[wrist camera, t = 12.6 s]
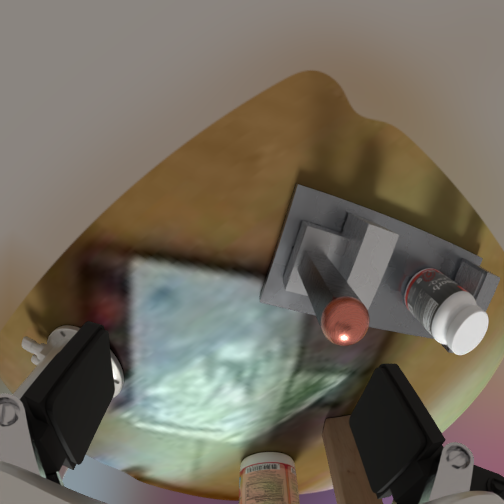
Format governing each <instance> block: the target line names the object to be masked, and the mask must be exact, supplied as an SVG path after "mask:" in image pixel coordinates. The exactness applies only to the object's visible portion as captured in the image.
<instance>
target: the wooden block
mask: <svg viewBox="0 0 504 504" xmlns="http://www.w3.org/2000/svg"><path fill="white" fill-rule="evenodd" d="M350 416H351V415H347V416H341V417H334V418H327V419H326V420H325V424H324V429H323V433H322V437H323V441H324V446H325V450H326V454H327V459H328V464H329V468H330V473H331V478H332V482H333V487H334V492H335V496H336V501H337V504H383V502H382V498H381V499H377V496H376V493H373V492H372V490H371V487H370V484H369V481H368V478H367V475H366V472H365V469H364V466H363V463H362V460H361V457H360V454H359V451H358V448H357V446H356V443H355V440H354V437H353V434H352V431H351V428H350V426H349V418H350Z"/></svg>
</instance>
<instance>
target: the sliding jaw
mask: <svg viewBox="0 0 504 504" xmlns="http://www.w3.org/2000/svg"><path fill="white" fill-rule="evenodd" d="M398 237H399V235H398V234H396V233H395V232H393V231H391V230H389V229H387V228H385V227H383V226H381V225H379V224H378V223H376V222H373V221H370V220H367V219H365V218H362V217H359V216H356V215H354V214H351V213H349V214H348V217H347V220H346V223H345V225H344V228H343V231H342V233H341V232H338V231H335V230H331V229H328V228H325V227H322V226H319V225H316V224H312V223H309V222H306V221H302V224H301V227H300V230H299V233H298V236H297V239H296V242H295V245H294V248H293V251H292V254H291V257H290V260H289V263H288V266H287V268H286V271H285V274H284V277H283V284H284V288H285V290H286V291H290V292H294V293H298V294H302V295H306V296H308V297H309V299H310V302H311V304H312V307H313V309H314V312H315V314H316V317H317V319H318V322H319V324H320V326H321V328H322V331H323V333H324V335H325V336H326V338H327V339H328V340H329V341H331V342H332V343H334V344H337V345H341V346H348V345H352V344H355V343H356V342H358V341H360V340H361V339H362V338H363V337H364V335H365V334H366V332H367V330H368V328H369V323H370V317H369V313H368V309H369V307H370V305H371V303H372V300H373V298H374V296H375V294H376V291H377V289H378V287H379V285H380V282H381V280H382V278H383V275H384V273H385V270H386V268H387V265H388V263H389V260H390V258H391V255H392V253H393V250H394V248H395V245H396V242H397V240H398Z"/></svg>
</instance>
